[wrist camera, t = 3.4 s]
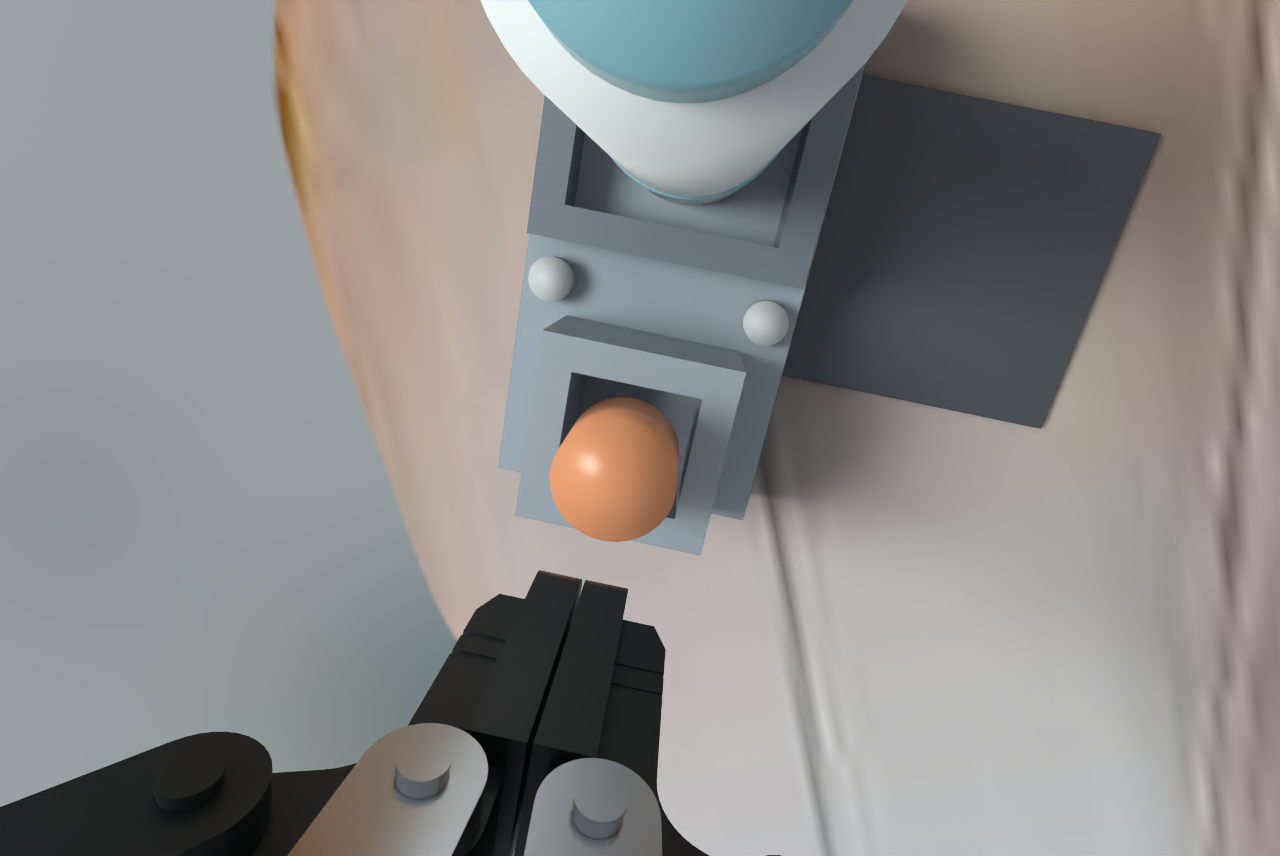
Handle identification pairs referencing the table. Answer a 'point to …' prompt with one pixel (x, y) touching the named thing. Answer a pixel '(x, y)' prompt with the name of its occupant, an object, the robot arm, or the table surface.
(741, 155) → the cartridge
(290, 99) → the table surface
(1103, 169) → the pad
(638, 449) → the plunger
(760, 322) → the housing
